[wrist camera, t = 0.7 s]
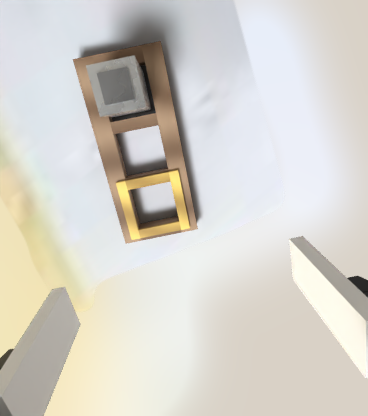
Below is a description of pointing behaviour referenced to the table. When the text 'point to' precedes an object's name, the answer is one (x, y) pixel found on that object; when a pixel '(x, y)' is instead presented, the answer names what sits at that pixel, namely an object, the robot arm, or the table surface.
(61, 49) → the table surface
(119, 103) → the block
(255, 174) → the table surface
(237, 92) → the table surface
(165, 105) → the board
